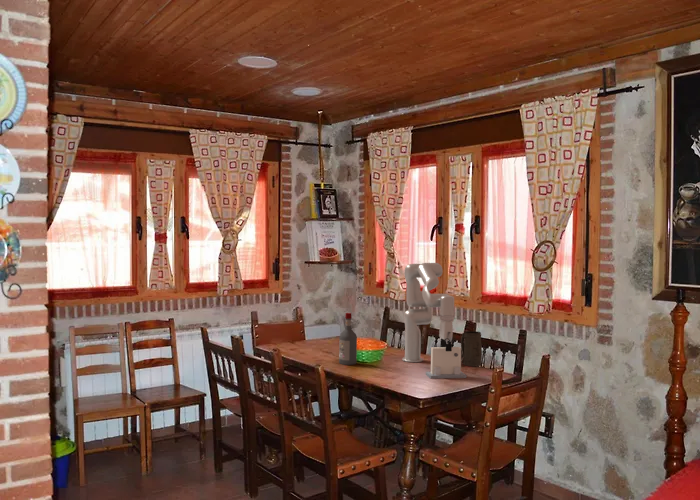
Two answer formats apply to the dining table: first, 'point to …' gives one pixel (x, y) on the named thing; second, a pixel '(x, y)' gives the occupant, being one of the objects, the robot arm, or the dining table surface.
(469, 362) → the beer stein
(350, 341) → the liquor
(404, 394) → the dining table surface
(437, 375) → the hinge plate
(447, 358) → the cabinet door
